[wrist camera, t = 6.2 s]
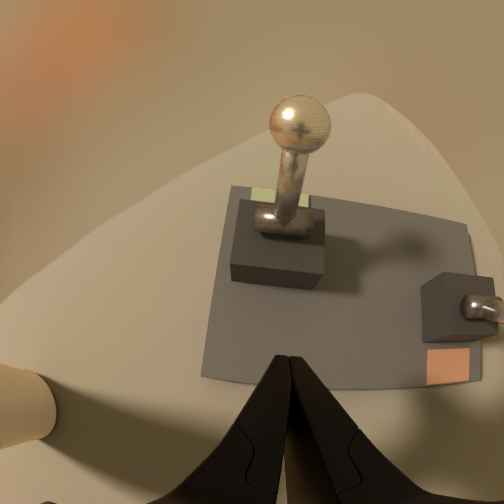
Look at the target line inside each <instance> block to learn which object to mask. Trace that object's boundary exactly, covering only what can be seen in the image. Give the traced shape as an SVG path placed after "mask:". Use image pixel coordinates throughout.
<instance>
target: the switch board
mask: <svg viewBox="0 0 504 504" xmlns="http://www.w3.org/2000/svg"><path fill="white" fill-rule="evenodd" d="M275 195H276V190H272V189H263V188H255V187H252V188H250V187H241V186H232V185H231V191H230V196H229V201H228V207H227V213H226V218H225V224H224V229H223V235H222V241H221V247H220V253H219V259H218V265H217V271H216V277H215V283H214V289H213V296H212V302H211V309H210V315H209V322H208V329H207V335H206V342H205V349H204V356H203V363H202V371H201V377H207V378H214V379H221V380H228V381H236V382H244V383H253V384H258V383H259V381H260V379H261V378H262V376H263V374H264V373H265V371H266V369H267V368H268V366H269V364H270V363H271V361H272V359H273V357H274V356H275V355H287V356H288V357H289V356H300V357H303V358H304V360H305V361H306V362H307V363H308V365H309V366H310V367H311V368H312V370H313V371H314V372H315V374H316V375H317V376H318V377H319V379H320V380H321V381H322V382H323V384H324V385H325V386H326V387H327V389H387V388H408V387H422V386H434V385H444V384H453V383H462V382H469V381H476V380H480V373H481V339H483V338H487V337H490V336H493V335H497V334H498V322H495V321H492V320H489V319H486V318H464V317H463V316H462V315H461V312H460V303H461V300H462V298H463V297H464V296H465V295H467V294H470V295H483V296H495V288H494V280H493V278H491V277H483V276H475V269H474V262H473V256H472V250H471V244H470V239H469V234H468V229H467V225H466V224H463V223H459V222H454V221H450V220H445V219H441V218H436V217H432V216H427V215H422V214H417V213H412V212H407V211H402V210H397V209H392V208H386V207H381V206H375V205H370V204H364V203H358V202H352V201H346V200H340V199H333V198H327V197H320V196H313V195H309V194H302V193H301V195H300V200H299V205H298V210H305V211H312V212H314V225H313V231H312V235H311V237H310V238H306V237H298V236H290V235H282V234H274V233H266V232H257V231H253V225H254V216H255V208H256V204H257V205H266V206H274V202H275Z"/></svg>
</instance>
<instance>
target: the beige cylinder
mask: <svg viewBox="0 0 504 504" xmlns="http://www.w3.org/2000/svg"><path fill="white" fill-rule="evenodd" d="M55 422H56V404H55V400H54V397H53V394H52V392H51V390H50V388H49V387H48V385H47V384H46V382H45V381H44V380H43V379H42V378H41V377H40V376H39V375H37V374H36V373H34V372H32V371H29V370H26V369H19V368H14V367H10V366H7V365H4V364H0V450H1V449H4V448H8V447H11V446H14V445H18V444H21V443H24V442H27V441H32V440H37V439H41V438H44V437H46V436H47V435H48V434H49V433H50V432H51V431H52V429H53V428H54V425H55Z"/></svg>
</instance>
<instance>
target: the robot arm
mask: <svg viewBox="0 0 504 504" xmlns="http://www.w3.org/2000/svg"><path fill="white" fill-rule="evenodd" d="M283 455H284V463H285V476H286V489H287V502H288V504H504V500H502V501H496V502H486V501H476V500H468V499H461V498H455V497H448V496H443V495H437V494H433V493H430V492H427V491H425V490H423V489H421V488H420V487H418V486H417V485H416V484H415V483H413V482H412V481H411V480H410V479H409V478H408V477H407V476H406V475H404V474H403V473H402V472H401V471H400V470H399V469H398V468H397V467H396V466H395V465H393V464H392V463H391V462H390V461H389V460H388V459H387V458H386V457H385V456H384V455H383V454H382V453H381V452H380V451H379V450H378V449H377V448H376V447H375V446H374V445H373V444H372V442H371V441H370V440H369V439H368V438H367V437H366V435H365V434H364V433H363V432H362V431H361V429H358V426H357V425H356V423H355V422H354V421H353V420H352V419H351V417H350V416H349V415H348V414H347V412H346V411H345V410H344V409H343V407H342V406H341V405H340V404H339V402H338V401H337V400H336V399H335V397H334V396H333V395H332V394H331V392H330V391H329V390H328V389H327V387H326V386H325V385H324V384H323V382H322V381H321V380H320V379H319V377H318V376H317V375H316V374H315V372H314V371H313V370H312V368H311V367H310V366H309V365H308V363H307V362H306V361H305V360H304V358H303V357H300V356H289V357H288V356H287V355H275V356H274V357H273V359H272V361H271V363H270V364H269V366H268V368H267V369H266V371H265V373H264V374H263V376H262V378H261V379H260V381H259V383H258V384H257V386H256V388H255V389H254V391H253V393H252V394H251V396H250V398H249V399H248V401H247V402H246V404H245V406H244V407H243V409H242V410H241V412H240V414H239V415H238V417H237V418H236V420H235V421H234V424H232V426H231V427H230V429H229V430H228V432H227V433H226V435H225V436H224V437H223V439H222V440H221V442H220V443H219V444H218V445H217V447H216V448H215V449H214V450H213V451H212V452H211V453H210V455H209V456H208V457H207V458H206V459H205V460H204V461H203V462H202V463H201V464H200V465H199V466H198V467H197V468H196V469H195V470H194V471H193V472H192V473H191V474H190V475H189V476H188V477H187V478H186V479H185V480H184V481H183V482H182V483H181V484H179V485H178V486H177V487H176V488H175V489H174V490H172V491H171V492H170V493H168V494H167V495H165V496H163V497H161V498H159V499H157V500H154V501H152V502H150V503H147V504H276V500H277V494H278V488H279V482H280V475H281V468H282V462H283ZM41 504H56V503H53V502H49V501H46V502H43V503H41Z"/></svg>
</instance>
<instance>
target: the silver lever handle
mask: <svg viewBox="0 0 504 504" xmlns="http://www.w3.org/2000/svg"><path fill="white" fill-rule="evenodd" d="M460 312H461V315H462V316H463V317H464V318H486V319H489V320H492V321H495V322H498V323H501V324H504V302H503V300H502V299H501V298H500V297H496V296H483V295H470V294H467V295H465V296H464V297H463V298H462V300H461V303H460Z"/></svg>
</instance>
